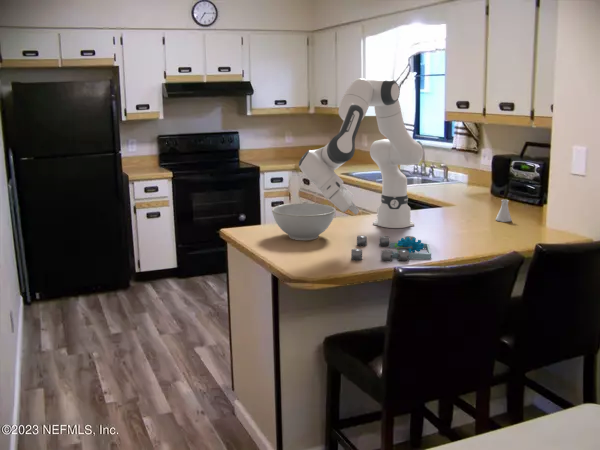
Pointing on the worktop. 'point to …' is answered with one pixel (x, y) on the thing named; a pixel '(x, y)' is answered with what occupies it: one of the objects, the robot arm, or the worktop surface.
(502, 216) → the flask
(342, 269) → the worktop surface
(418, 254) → the light blue u-shaped piece
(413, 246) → the gear
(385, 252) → the spacers
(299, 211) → the decorative bowl
